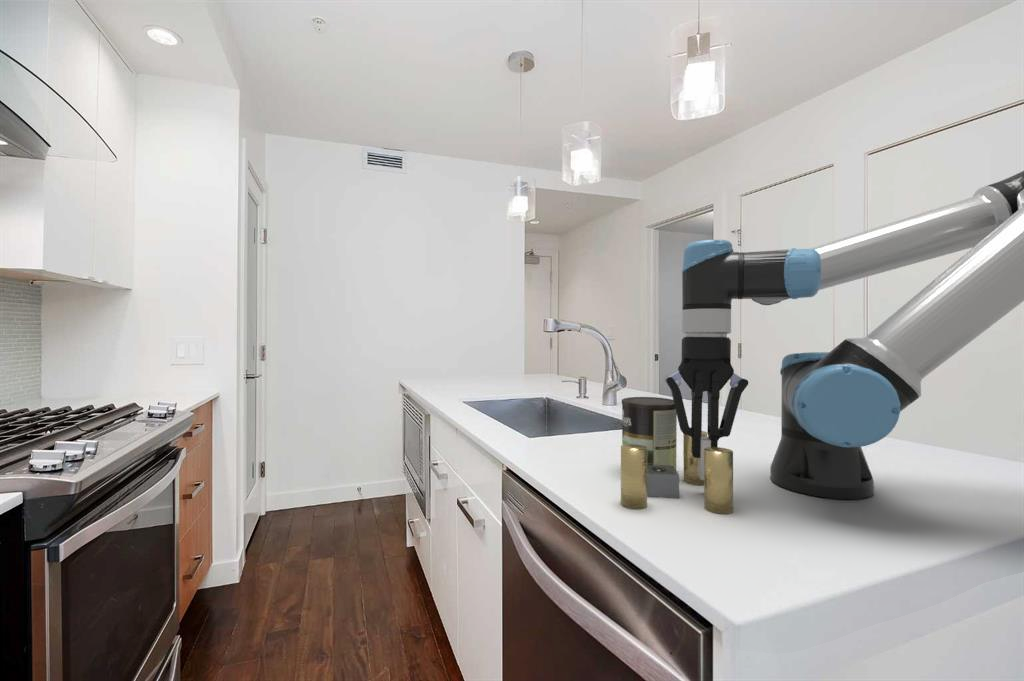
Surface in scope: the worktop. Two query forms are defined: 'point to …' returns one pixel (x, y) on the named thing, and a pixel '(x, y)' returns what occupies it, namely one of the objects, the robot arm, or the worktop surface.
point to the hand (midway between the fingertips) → (703, 477)
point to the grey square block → (662, 481)
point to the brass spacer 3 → (718, 480)
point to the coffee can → (651, 427)
